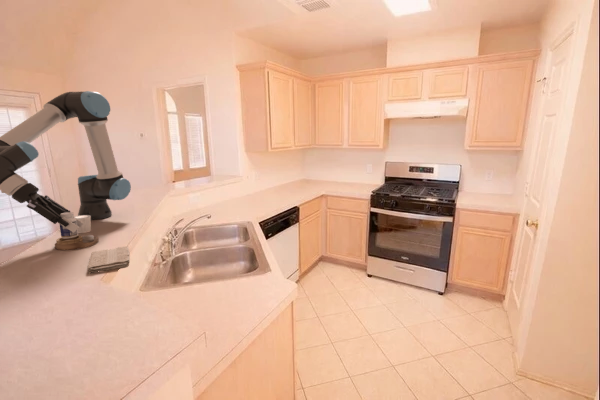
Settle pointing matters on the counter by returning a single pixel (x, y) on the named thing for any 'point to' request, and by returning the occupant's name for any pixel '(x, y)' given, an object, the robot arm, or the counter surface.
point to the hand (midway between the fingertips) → (78, 227)
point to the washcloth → (109, 259)
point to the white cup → (87, 223)
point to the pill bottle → (64, 231)
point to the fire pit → (76, 242)
